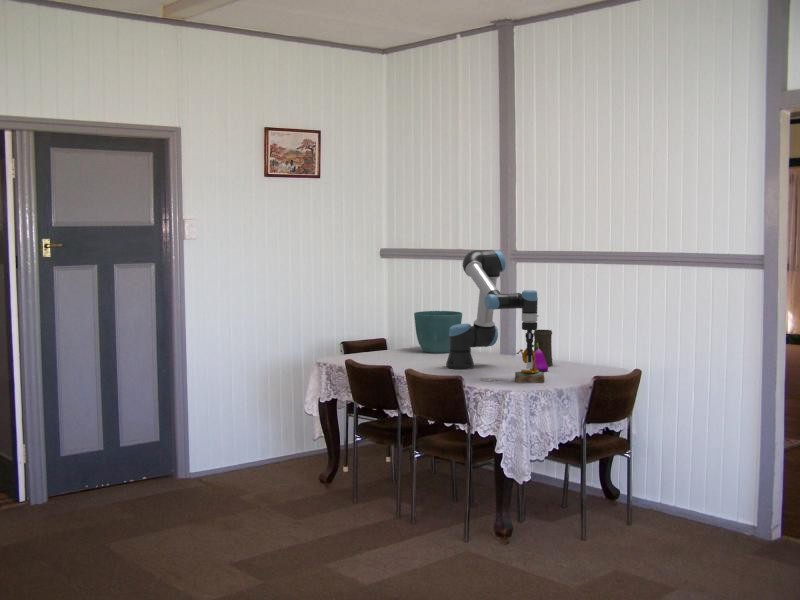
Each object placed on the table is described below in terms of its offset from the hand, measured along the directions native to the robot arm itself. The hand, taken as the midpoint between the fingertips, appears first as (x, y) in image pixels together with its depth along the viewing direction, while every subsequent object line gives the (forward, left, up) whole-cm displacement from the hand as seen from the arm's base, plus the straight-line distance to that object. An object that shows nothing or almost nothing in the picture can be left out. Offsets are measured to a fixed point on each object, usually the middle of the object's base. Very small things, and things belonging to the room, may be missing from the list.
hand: (529, 367), depth 444 cm
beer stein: (+8, +54, -7) cm, 55 cm away
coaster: (-20, -2, -7) cm, 21 cm away
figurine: (0, +2, -3) cm, 3 cm away
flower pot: (-55, +108, -7) cm, 121 cm away
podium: (0, 0, -6) cm, 6 cm away
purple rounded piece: (+5, +32, -7) cm, 33 cm away
